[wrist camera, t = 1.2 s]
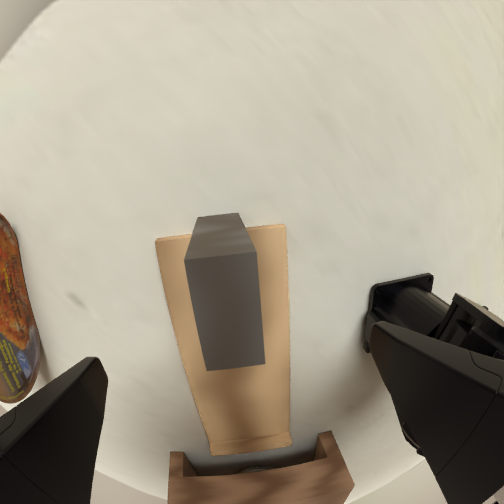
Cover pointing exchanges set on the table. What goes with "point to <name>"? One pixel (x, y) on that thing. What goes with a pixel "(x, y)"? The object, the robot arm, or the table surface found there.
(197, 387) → the scraper
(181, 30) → the table surface
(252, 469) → the token
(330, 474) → the wooden bridge block
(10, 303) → the tin
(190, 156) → the table surface
